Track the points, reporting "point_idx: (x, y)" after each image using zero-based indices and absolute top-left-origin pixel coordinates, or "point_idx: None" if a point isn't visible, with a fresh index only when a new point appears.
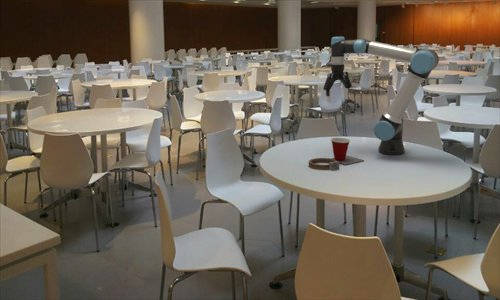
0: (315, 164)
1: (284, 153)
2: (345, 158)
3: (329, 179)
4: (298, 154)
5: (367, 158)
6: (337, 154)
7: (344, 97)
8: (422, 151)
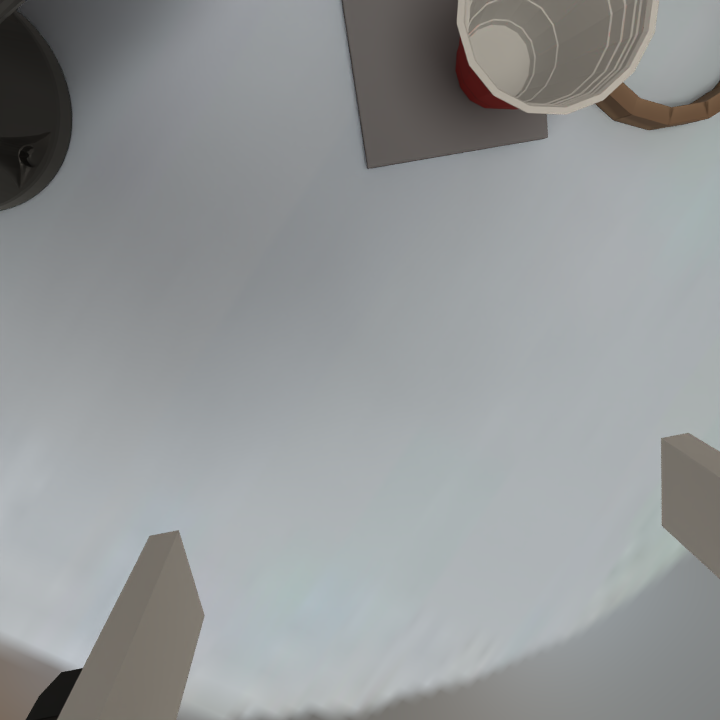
0: None
1: None
2: (432, 81)
3: None
4: (608, 386)
5: (258, 29)
6: (558, 17)
7: (192, 635)
8: None
